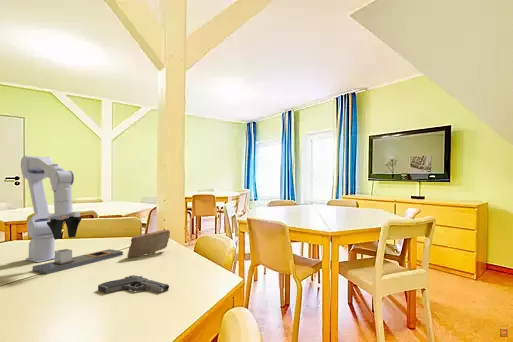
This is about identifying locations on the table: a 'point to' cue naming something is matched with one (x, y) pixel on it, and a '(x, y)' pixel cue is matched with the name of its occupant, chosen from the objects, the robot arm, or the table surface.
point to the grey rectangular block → (63, 256)
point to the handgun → (132, 285)
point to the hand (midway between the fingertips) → (64, 238)
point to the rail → (77, 261)
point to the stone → (148, 243)
